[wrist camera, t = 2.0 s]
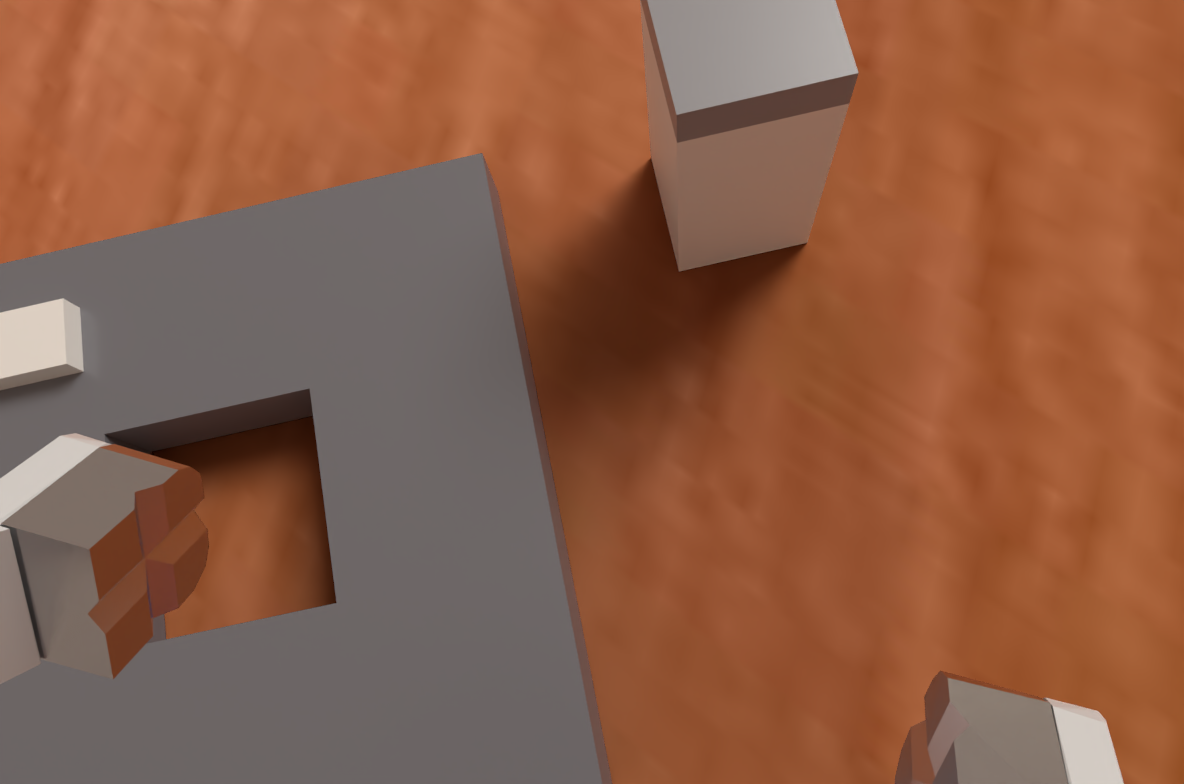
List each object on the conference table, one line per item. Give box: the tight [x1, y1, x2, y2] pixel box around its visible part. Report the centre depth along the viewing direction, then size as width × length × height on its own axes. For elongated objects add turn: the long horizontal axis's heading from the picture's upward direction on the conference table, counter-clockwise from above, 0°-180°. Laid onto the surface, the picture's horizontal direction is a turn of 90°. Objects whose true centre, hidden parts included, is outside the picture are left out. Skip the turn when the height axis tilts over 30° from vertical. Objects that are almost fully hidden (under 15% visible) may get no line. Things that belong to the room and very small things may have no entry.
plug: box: [640, 0, 858, 271], centre depth 26 cm, size 4×4×9 cm
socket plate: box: [0, 153, 612, 784], centre depth 27 cm, size 18×18×3 cm
